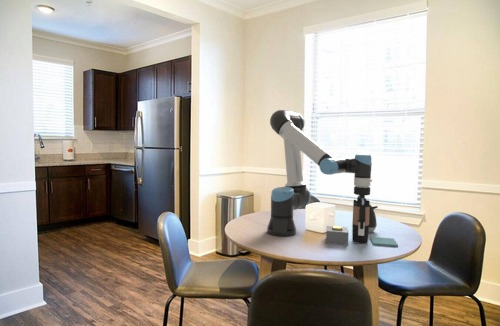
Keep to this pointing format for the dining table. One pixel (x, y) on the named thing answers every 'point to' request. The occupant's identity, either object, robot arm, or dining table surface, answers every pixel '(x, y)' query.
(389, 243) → the mat
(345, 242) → the block
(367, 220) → the travel mug
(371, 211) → the pump dispenser
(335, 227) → the plunger
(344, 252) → the dining table surface
